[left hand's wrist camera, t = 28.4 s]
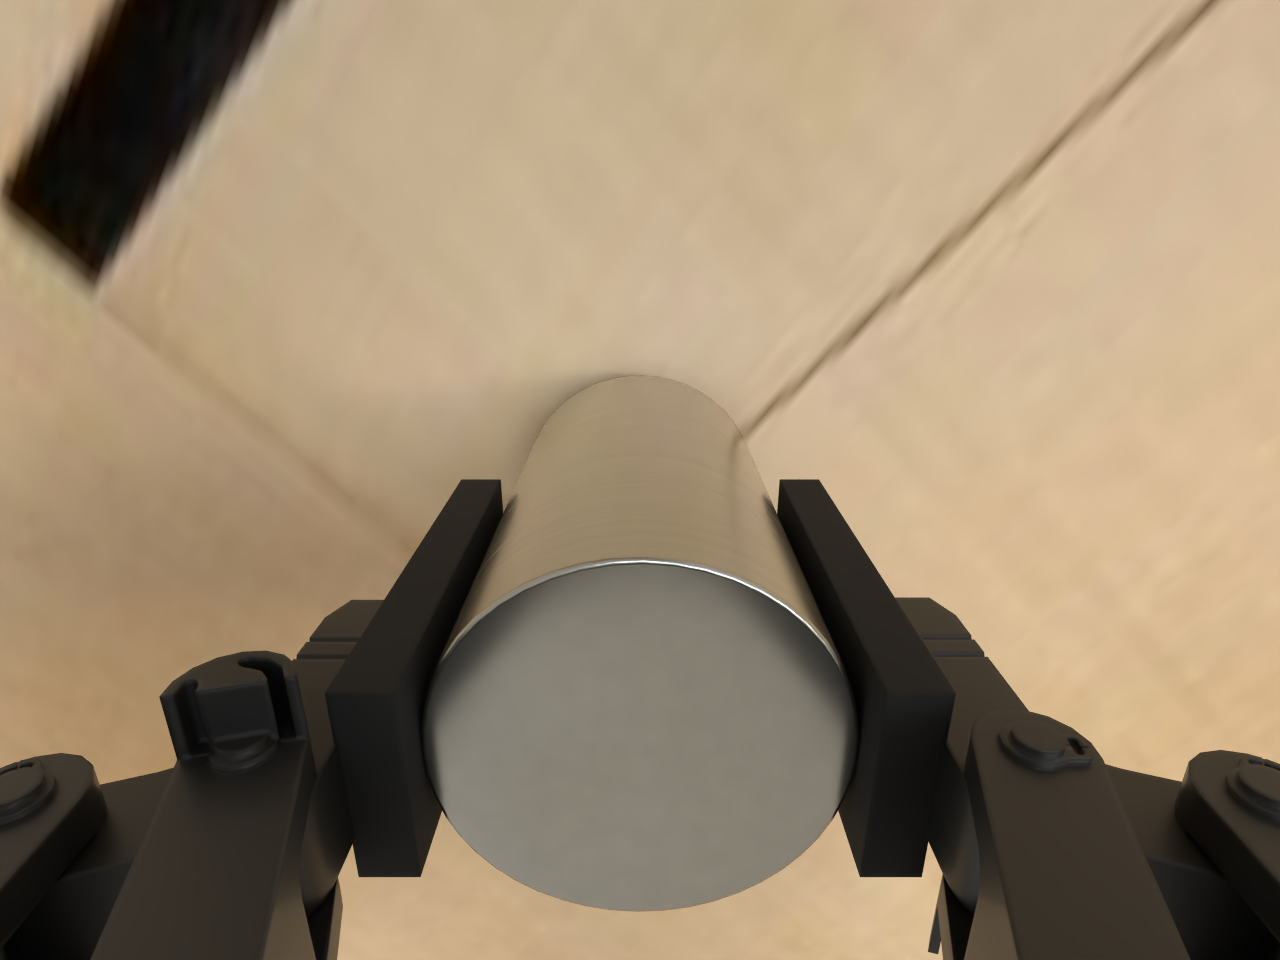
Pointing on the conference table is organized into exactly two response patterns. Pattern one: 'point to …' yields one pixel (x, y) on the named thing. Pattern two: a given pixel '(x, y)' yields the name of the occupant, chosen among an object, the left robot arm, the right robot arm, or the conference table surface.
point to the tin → (640, 667)
